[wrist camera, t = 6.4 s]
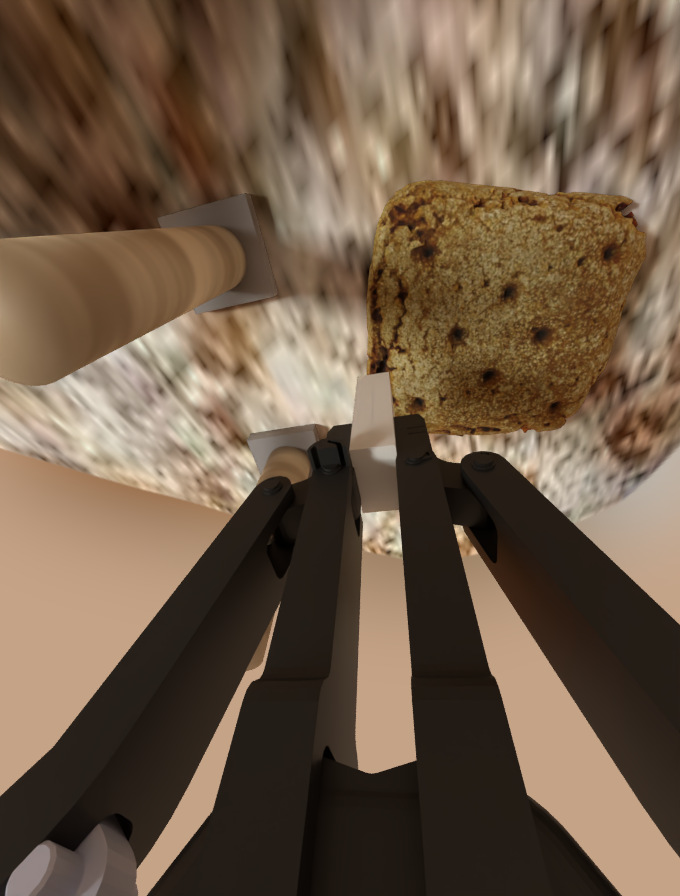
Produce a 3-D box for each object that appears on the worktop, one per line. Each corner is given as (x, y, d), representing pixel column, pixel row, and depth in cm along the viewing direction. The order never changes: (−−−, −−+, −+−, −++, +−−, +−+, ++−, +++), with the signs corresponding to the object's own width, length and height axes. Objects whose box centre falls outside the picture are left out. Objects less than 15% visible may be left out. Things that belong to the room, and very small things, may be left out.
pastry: (686, 334, 22) (727, 350, 19) (441, 481, 29) (447, 507, 26) (547, 33, 16) (580, -2, 13) (280, 312, 23) (269, 325, 20)
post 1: (202, 310, 23) (-10, 429, 10) (165, 217, 20) (-178, 222, 8) (278, 293, 22) (149, 401, 9) (250, 194, 19) (19, 155, 7)
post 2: (271, 485, 30) (197, 683, 17) (250, 433, 27) (146, 620, 15) (330, 478, 29) (297, 680, 16) (314, 423, 26) (262, 613, 14)
